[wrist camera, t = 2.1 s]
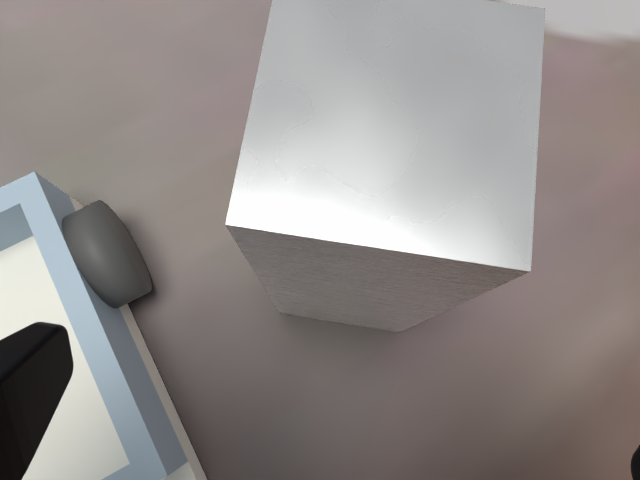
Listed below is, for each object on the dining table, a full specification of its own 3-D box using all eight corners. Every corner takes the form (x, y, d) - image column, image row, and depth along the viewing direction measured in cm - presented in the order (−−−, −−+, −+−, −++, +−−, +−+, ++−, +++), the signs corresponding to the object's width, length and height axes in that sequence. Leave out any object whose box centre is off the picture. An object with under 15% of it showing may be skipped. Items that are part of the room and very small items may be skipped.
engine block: (399, 332, 19) (530, 271, 7) (280, 313, 19) (225, 224, 8) (412, 217, 20) (545, 8, 9) (299, 200, 20) (278, -28, 9)
